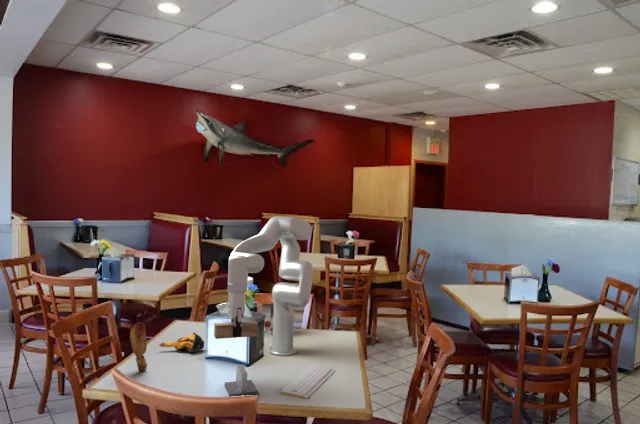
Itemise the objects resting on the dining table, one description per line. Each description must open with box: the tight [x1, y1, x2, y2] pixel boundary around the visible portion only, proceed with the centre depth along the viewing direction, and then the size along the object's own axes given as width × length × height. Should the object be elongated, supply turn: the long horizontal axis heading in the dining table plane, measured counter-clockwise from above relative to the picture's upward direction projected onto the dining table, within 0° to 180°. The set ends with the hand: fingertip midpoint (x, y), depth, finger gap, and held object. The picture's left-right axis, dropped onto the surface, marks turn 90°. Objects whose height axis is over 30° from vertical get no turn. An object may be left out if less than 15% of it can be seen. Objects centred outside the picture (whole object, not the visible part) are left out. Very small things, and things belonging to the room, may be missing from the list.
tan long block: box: [213, 320, 259, 340], centre depth 195 cm, size 4×16×5 cm, turn 111°
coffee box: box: [269, 302, 274, 336], centre depth 259 cm, size 9×6×16 cm
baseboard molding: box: [279, 364, 336, 400], centre depth 196 cm, size 31×3×12 cm
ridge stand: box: [224, 364, 260, 397], centre depth 184 cm, size 11×10×8 cm
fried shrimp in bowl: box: [159, 332, 205, 354], centre depth 225 cm, size 9×11×18 cm
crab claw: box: [129, 321, 148, 372], centre depth 199 cm, size 7×5×20 cm
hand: (235, 334), depth 195 cm, fingers closed on tan long block, 4 cm apart
